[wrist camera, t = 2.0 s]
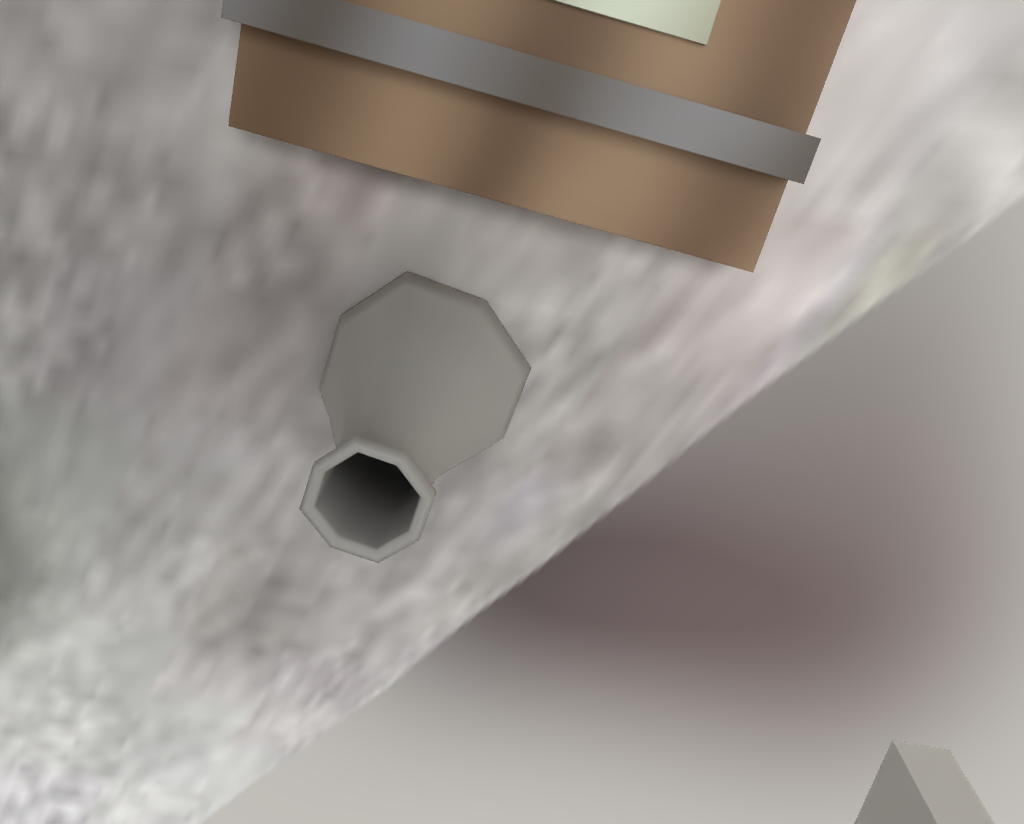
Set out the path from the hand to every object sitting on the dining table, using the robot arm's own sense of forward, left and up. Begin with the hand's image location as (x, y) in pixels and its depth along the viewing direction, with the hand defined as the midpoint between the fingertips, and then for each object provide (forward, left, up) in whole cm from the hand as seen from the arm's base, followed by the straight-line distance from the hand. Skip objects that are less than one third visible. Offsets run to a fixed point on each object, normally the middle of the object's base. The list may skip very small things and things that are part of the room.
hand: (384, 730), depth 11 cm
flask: (-2, -2, -19) cm, 20 cm away
